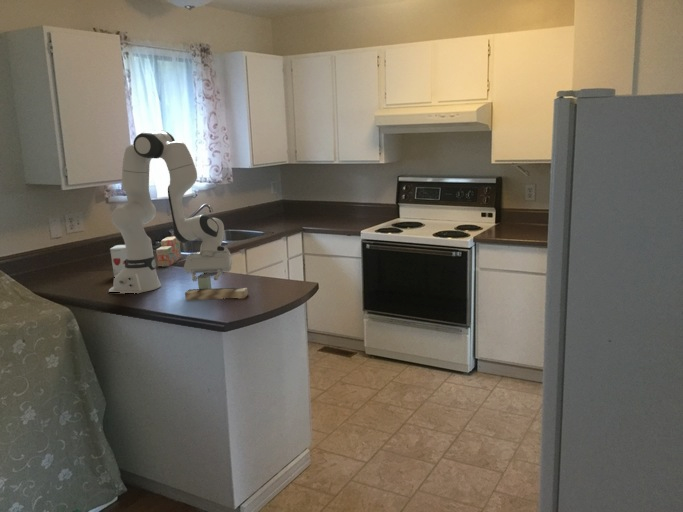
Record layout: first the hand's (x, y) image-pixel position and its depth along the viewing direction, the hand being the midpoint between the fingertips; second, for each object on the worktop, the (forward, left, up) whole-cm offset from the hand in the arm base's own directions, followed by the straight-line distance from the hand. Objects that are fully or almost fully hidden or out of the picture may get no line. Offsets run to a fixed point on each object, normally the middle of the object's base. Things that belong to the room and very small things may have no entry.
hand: (205, 280), depth 254 cm
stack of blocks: (-44, +64, -6) cm, 79 cm away
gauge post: (0, 0, -6) cm, 6 cm away
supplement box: (-55, +36, -6) cm, 66 cm away
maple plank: (+7, -6, -6) cm, 11 cm away
